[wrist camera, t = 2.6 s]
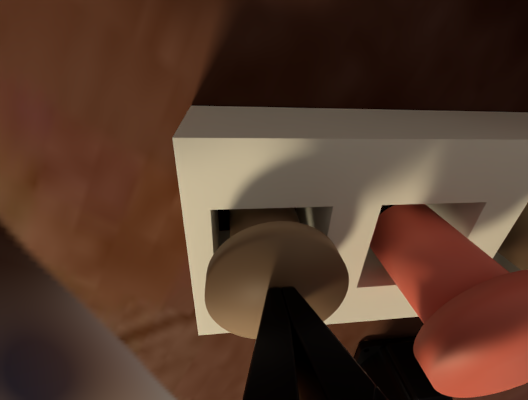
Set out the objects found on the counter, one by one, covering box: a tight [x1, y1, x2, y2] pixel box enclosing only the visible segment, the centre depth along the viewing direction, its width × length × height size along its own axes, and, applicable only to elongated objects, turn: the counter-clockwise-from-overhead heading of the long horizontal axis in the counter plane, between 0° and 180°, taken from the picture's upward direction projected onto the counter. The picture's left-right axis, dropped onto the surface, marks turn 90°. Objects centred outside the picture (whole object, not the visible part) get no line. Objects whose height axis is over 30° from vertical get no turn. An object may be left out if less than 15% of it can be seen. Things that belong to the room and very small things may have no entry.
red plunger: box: [370, 204, 528, 398], centre depth 9 cm, size 5×5×6 cm
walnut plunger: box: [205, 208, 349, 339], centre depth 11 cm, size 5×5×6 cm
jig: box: [173, 106, 528, 335], centre depth 13 cm, size 9×18×4 cm, turn 87°
